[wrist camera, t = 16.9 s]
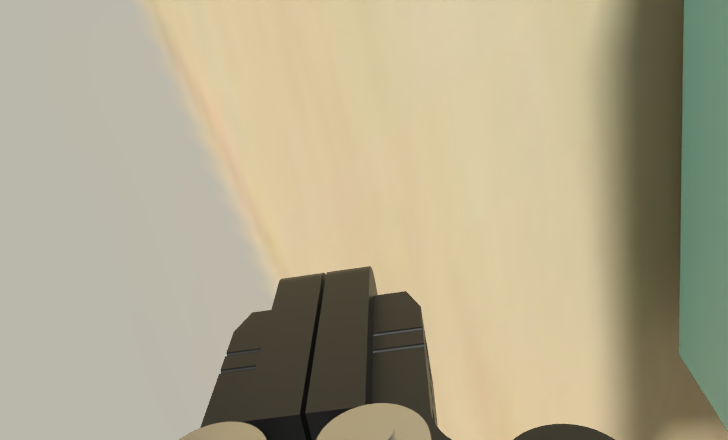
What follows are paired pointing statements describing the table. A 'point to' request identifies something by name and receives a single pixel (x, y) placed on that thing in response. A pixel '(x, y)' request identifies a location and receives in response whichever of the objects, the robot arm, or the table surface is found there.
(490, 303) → the table surface
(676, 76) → the table surface
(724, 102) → the tray
